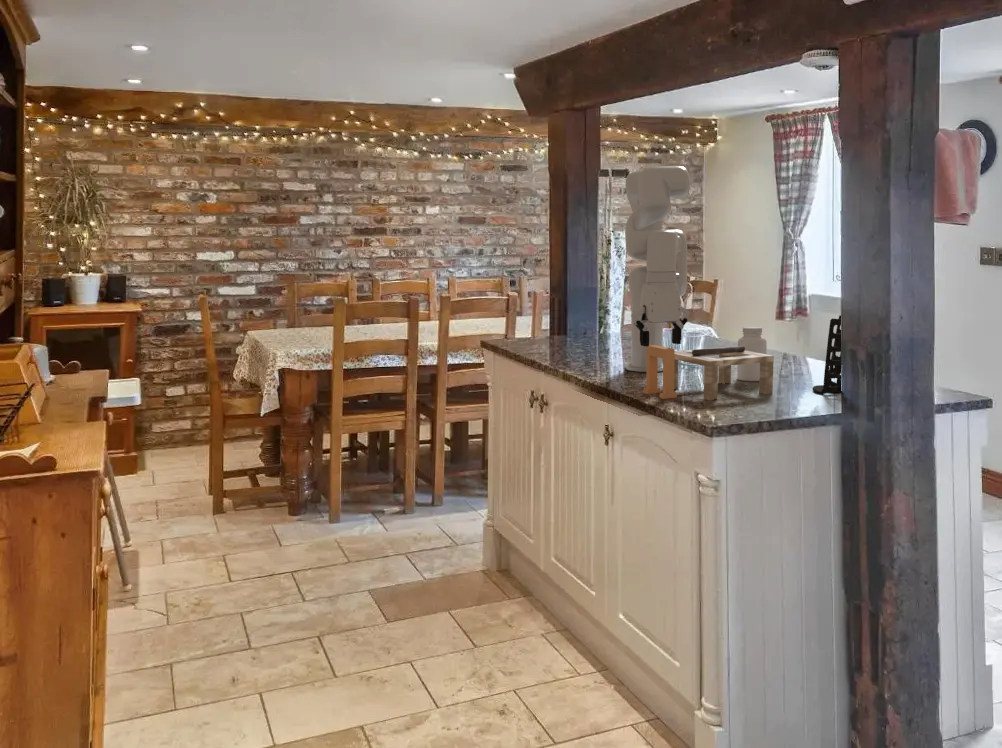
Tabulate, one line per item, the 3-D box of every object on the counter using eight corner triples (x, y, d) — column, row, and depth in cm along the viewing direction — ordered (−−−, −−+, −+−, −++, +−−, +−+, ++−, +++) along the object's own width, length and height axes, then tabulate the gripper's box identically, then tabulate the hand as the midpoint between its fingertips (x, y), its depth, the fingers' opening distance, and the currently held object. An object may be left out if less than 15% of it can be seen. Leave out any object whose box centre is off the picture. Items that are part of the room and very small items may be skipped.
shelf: (709, 400, 237) (710, 355, 235) (665, 388, 255) (665, 346, 253) (772, 393, 245) (773, 349, 243) (725, 382, 263) (726, 341, 261)
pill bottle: (744, 376, 272) (745, 325, 269) (770, 378, 267) (772, 326, 264) (732, 380, 266) (733, 327, 263) (758, 382, 261) (760, 329, 258)
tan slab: (663, 398, 240) (664, 350, 238) (643, 392, 249) (643, 345, 247) (676, 397, 241) (677, 348, 239) (656, 391, 250) (656, 344, 248)
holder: (811, 386, 253) (822, 313, 249) (841, 389, 251) (852, 316, 247) (812, 393, 242) (824, 317, 238) (843, 397, 240) (855, 321, 236)
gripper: (681, 277, 247) (680, 341, 249) (624, 279, 240) (624, 345, 242) (697, 278, 240) (696, 344, 242) (640, 280, 233) (639, 348, 236)
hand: (660, 344), depth 242 cm, fingers open, 9 cm apart
